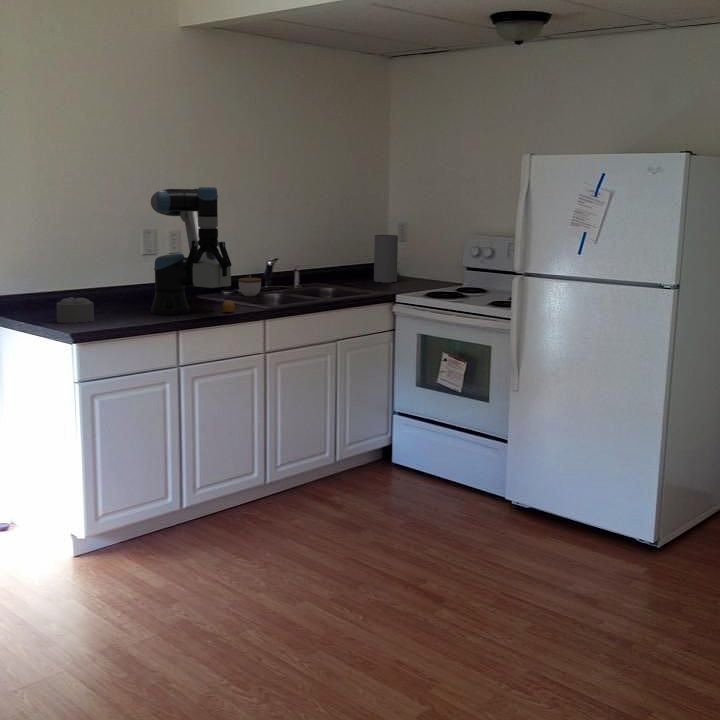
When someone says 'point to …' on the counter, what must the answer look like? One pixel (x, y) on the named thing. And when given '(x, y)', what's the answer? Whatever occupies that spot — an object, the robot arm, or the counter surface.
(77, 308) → the lumpy-topped squat cylinder
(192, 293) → the counter surface
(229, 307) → the ball
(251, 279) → the lidded jar
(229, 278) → the wide gray carton
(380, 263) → the cylinder vase
